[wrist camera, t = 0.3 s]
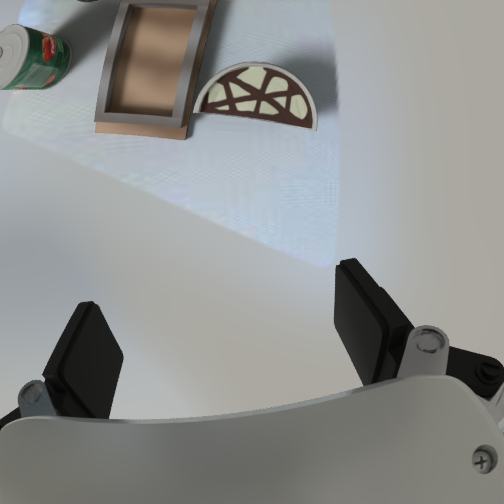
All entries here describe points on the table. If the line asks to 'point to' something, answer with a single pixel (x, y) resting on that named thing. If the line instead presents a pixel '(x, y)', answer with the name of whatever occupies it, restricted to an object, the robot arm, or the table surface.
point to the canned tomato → (32, 59)
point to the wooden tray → (152, 67)
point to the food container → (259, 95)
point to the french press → (87, 0)
